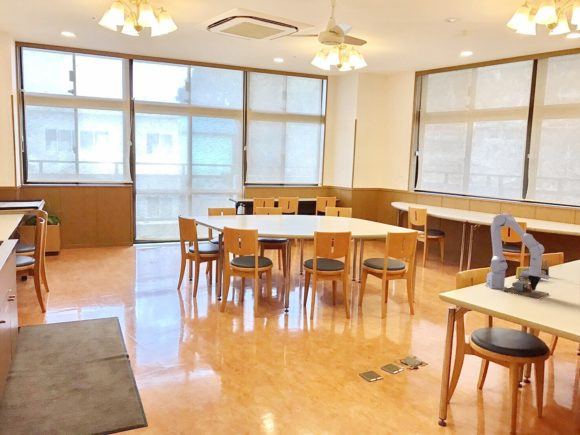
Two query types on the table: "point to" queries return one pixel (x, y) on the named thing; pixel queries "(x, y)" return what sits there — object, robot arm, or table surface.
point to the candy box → (518, 272)
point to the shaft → (525, 287)
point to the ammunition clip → (545, 267)
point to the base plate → (527, 293)
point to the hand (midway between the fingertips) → (533, 289)
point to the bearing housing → (520, 286)
